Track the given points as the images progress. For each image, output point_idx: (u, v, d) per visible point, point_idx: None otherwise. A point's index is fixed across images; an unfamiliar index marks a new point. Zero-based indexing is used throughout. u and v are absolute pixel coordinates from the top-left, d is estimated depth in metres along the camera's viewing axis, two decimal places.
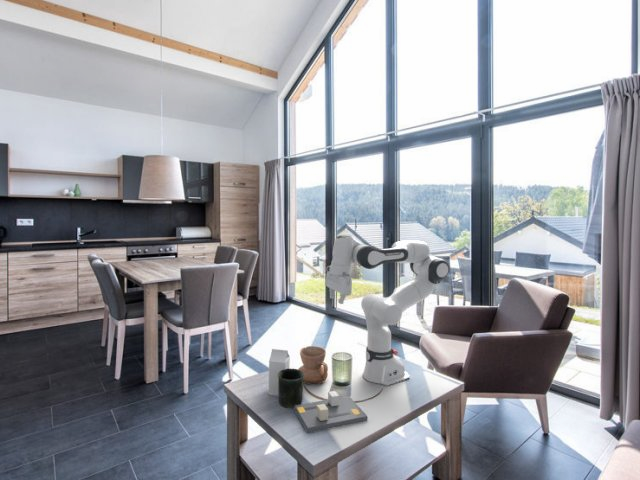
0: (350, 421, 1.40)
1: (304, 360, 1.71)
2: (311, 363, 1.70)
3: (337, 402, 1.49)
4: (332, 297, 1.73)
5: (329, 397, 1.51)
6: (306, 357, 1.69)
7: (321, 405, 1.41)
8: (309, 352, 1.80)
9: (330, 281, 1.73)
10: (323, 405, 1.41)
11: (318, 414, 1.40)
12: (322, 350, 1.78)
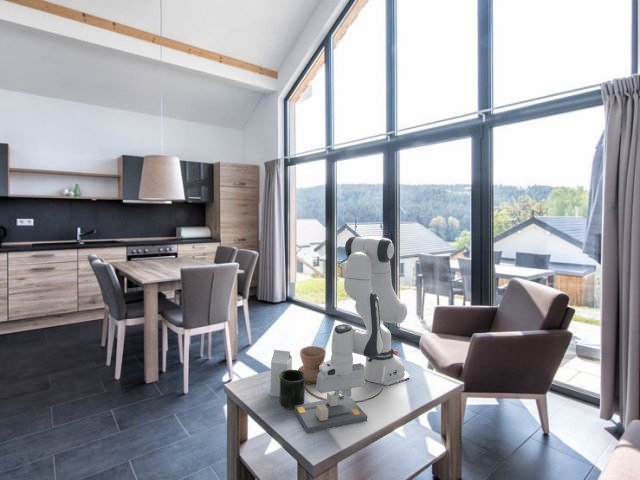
0: (350, 421, 1.40)
1: (304, 360, 1.71)
2: (311, 363, 1.70)
3: (336, 402, 1.49)
4: None
5: (328, 397, 1.50)
6: (306, 357, 1.69)
7: (321, 405, 1.41)
8: (309, 352, 1.80)
9: (331, 384, 1.47)
10: (323, 405, 1.41)
11: (318, 414, 1.40)
12: (322, 350, 1.78)
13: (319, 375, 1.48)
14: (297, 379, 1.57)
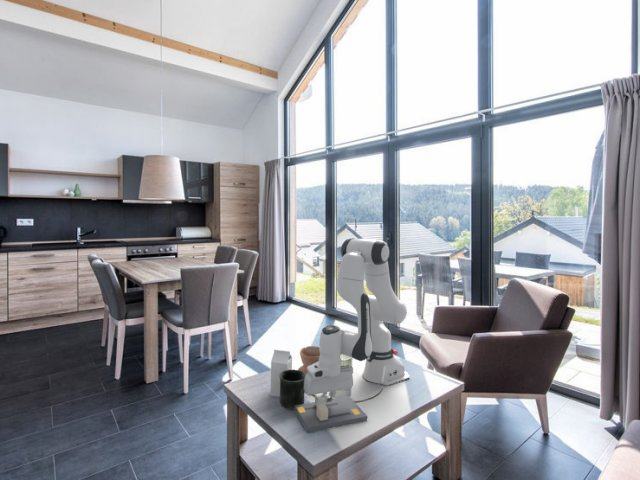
0: (350, 421, 1.40)
1: (304, 360, 1.71)
2: (311, 363, 1.70)
3: None
4: None
5: (316, 399, 1.48)
6: (306, 357, 1.69)
7: (321, 405, 1.41)
8: (309, 353, 1.80)
9: (319, 386, 1.46)
10: (323, 405, 1.41)
11: (318, 414, 1.40)
12: None
13: (306, 377, 1.46)
14: (297, 379, 1.57)
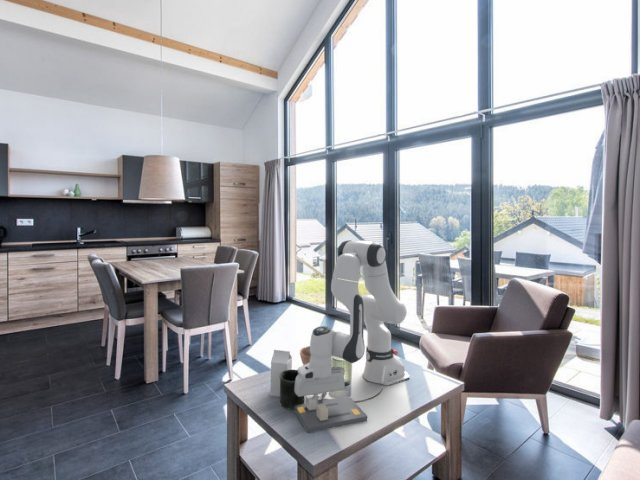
0: (350, 421, 1.40)
1: (304, 360, 1.71)
2: None
3: (314, 406, 1.46)
4: None
5: (306, 401, 1.47)
6: (306, 357, 1.69)
7: (321, 405, 1.41)
8: (309, 352, 1.80)
9: (309, 387, 1.44)
10: (323, 405, 1.41)
11: (318, 414, 1.40)
12: None
13: (297, 378, 1.45)
14: None
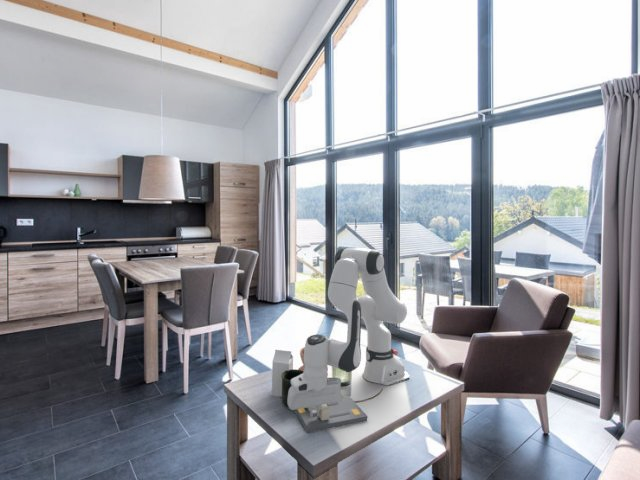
0: (350, 421, 1.40)
1: None
2: None
3: (314, 406, 1.46)
4: None
5: None
6: None
7: (322, 405, 1.41)
8: None
9: (303, 400, 1.35)
10: (324, 405, 1.41)
11: (319, 414, 1.40)
12: None
13: (290, 390, 1.36)
14: None
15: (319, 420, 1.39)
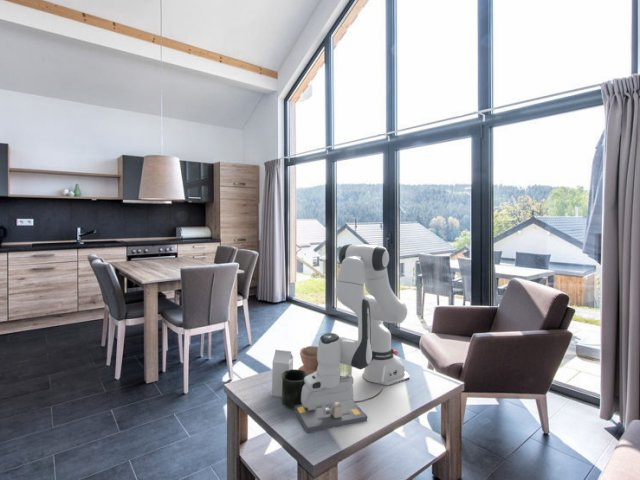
0: (350, 421, 1.40)
1: (304, 360, 1.71)
2: (311, 363, 1.70)
3: (314, 406, 1.46)
4: None
5: None
6: (306, 357, 1.69)
7: (335, 403, 1.43)
8: (309, 353, 1.80)
9: (317, 397, 1.37)
10: (337, 403, 1.43)
11: (332, 411, 1.42)
12: None
13: (304, 388, 1.38)
14: (299, 379, 1.58)
15: (319, 420, 1.39)
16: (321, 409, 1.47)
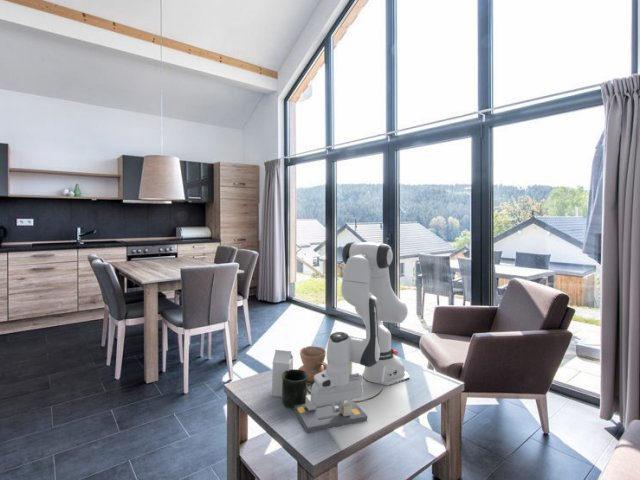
0: (350, 421, 1.40)
1: (304, 360, 1.71)
2: (311, 363, 1.70)
3: (314, 406, 1.46)
4: None
5: (306, 401, 1.47)
6: (306, 357, 1.69)
7: (344, 401, 1.44)
8: (309, 353, 1.80)
9: (326, 396, 1.38)
10: (346, 401, 1.45)
11: (341, 410, 1.43)
12: (322, 350, 1.78)
13: (314, 386, 1.39)
14: (299, 379, 1.58)
15: (319, 420, 1.39)
16: (321, 409, 1.47)
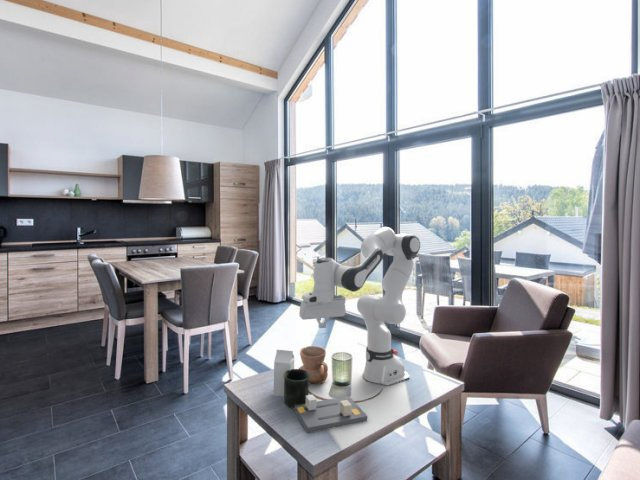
0: (350, 421, 1.40)
1: (304, 360, 1.71)
2: (311, 363, 1.70)
3: (314, 406, 1.46)
4: None
5: (306, 401, 1.47)
6: (306, 357, 1.69)
7: (344, 401, 1.44)
8: (309, 353, 1.80)
9: (313, 311, 1.57)
10: (346, 401, 1.45)
11: (341, 410, 1.43)
12: (322, 350, 1.78)
13: (302, 303, 1.58)
14: (300, 378, 1.58)
15: (319, 420, 1.39)
16: (321, 409, 1.47)
